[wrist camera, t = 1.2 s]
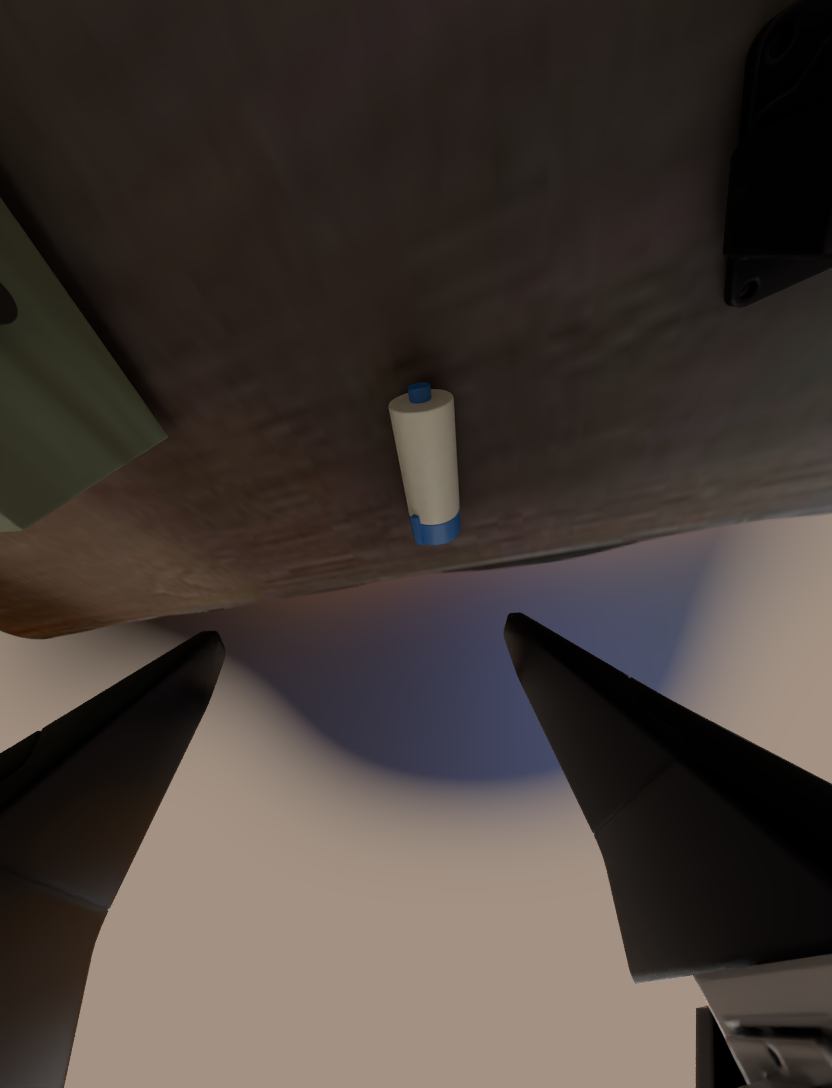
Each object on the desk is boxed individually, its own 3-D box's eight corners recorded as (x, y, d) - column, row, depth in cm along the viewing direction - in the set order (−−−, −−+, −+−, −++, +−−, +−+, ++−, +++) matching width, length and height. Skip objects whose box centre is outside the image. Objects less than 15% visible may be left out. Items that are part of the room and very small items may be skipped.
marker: (415, 372, 15) (367, 395, 13) (466, 376, 13) (418, 402, 12) (432, 509, 20) (400, 536, 19) (470, 524, 19) (438, 555, 17)
